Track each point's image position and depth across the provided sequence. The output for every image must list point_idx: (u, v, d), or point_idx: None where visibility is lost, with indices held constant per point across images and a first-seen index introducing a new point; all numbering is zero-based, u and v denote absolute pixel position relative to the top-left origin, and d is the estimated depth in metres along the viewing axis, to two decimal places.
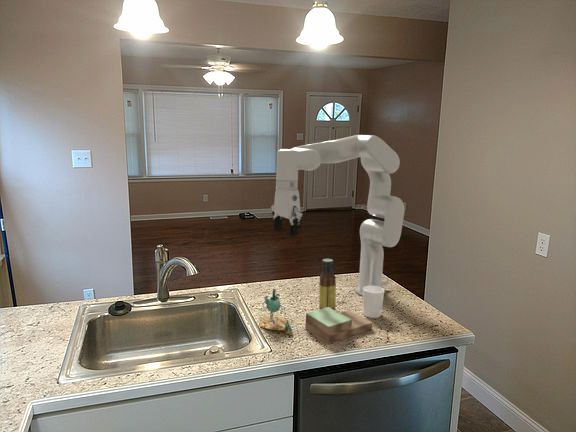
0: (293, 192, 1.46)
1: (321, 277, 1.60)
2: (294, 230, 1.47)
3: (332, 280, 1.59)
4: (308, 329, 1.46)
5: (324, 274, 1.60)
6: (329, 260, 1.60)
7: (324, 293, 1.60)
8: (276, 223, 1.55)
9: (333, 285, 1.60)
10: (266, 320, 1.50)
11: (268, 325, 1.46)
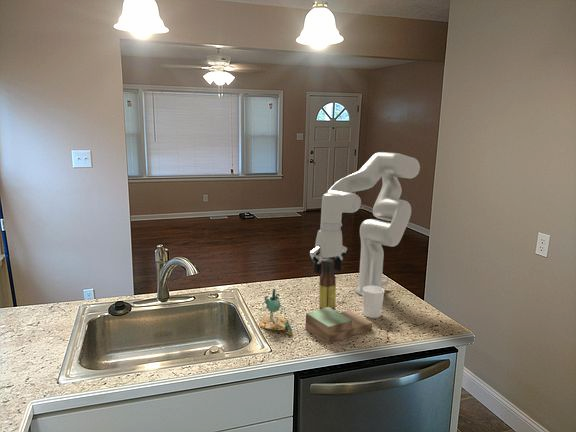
0: None
1: (321, 277, 1.60)
2: None
3: (332, 280, 1.59)
4: (308, 329, 1.46)
5: (324, 274, 1.60)
6: (329, 260, 1.60)
7: (324, 293, 1.60)
8: None
9: (333, 285, 1.60)
10: (266, 320, 1.50)
11: (268, 325, 1.47)
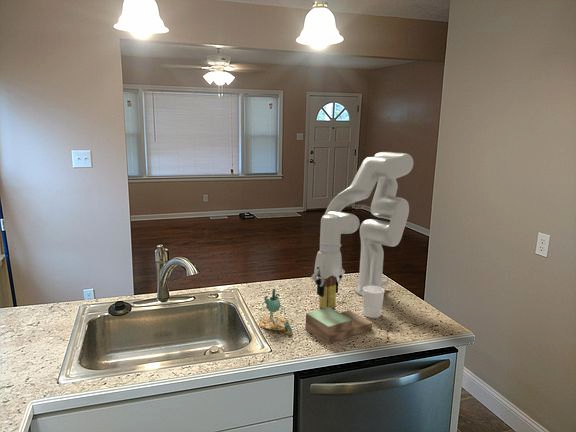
0: None
1: None
2: None
3: (332, 280, 1.59)
4: (308, 329, 1.46)
5: None
6: None
7: (324, 293, 1.60)
8: None
9: (333, 285, 1.60)
10: (266, 320, 1.51)
11: (268, 325, 1.47)
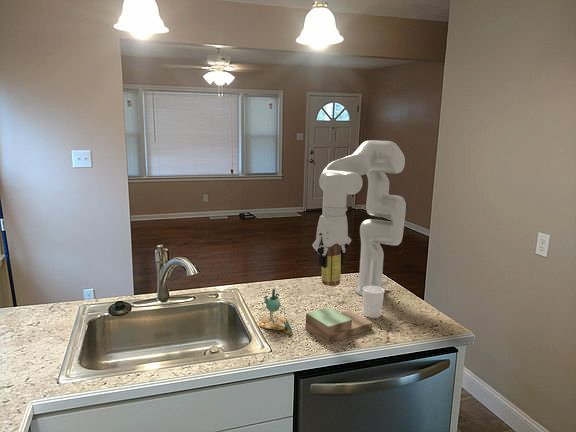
0: None
1: None
2: None
3: (337, 248, 1.38)
4: (308, 329, 1.46)
5: None
6: None
7: (327, 263, 1.38)
8: None
9: (338, 254, 1.38)
10: (266, 320, 1.51)
11: (268, 325, 1.47)
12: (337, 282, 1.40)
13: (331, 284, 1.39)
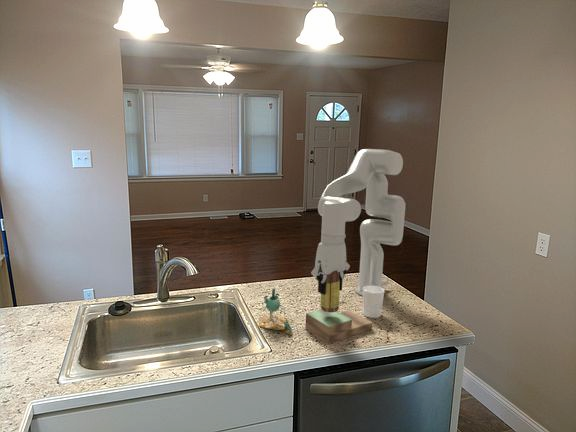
0: None
1: None
2: None
3: (335, 275, 1.39)
4: (308, 329, 1.46)
5: None
6: None
7: (326, 290, 1.39)
8: None
9: (336, 281, 1.39)
10: (265, 319, 1.51)
11: (268, 324, 1.47)
12: (336, 308, 1.41)
13: (330, 311, 1.40)
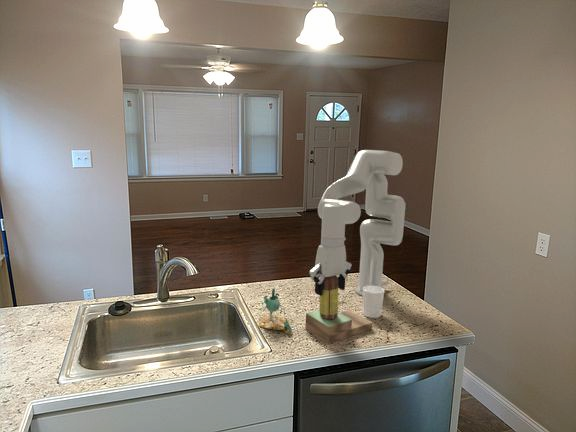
0: None
1: None
2: None
3: (334, 282, 1.39)
4: (308, 329, 1.46)
5: None
6: None
7: (325, 297, 1.40)
8: None
9: (335, 288, 1.40)
10: (265, 319, 1.51)
11: (267, 324, 1.47)
12: (335, 315, 1.42)
13: (329, 318, 1.41)
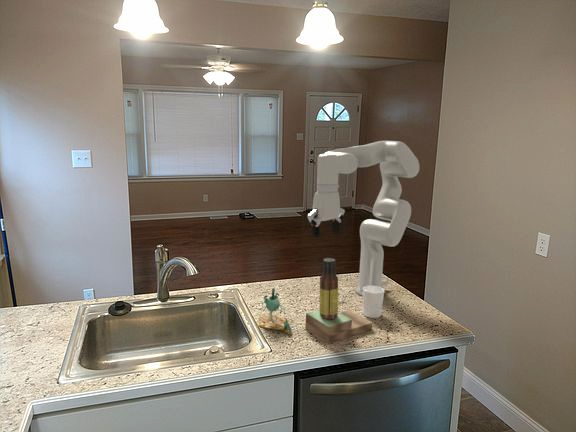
0: None
1: (322, 279, 1.40)
2: None
3: (334, 282, 1.39)
4: (308, 329, 1.46)
5: (325, 276, 1.40)
6: (331, 260, 1.40)
7: (325, 297, 1.40)
8: None
9: (335, 288, 1.40)
10: (265, 319, 1.51)
11: (267, 324, 1.47)
12: (335, 315, 1.42)
13: (329, 318, 1.41)
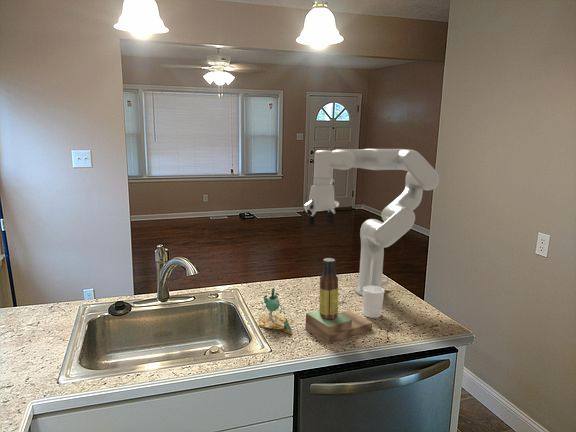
0: None
1: (322, 279, 1.40)
2: None
3: (334, 282, 1.39)
4: (308, 329, 1.46)
5: (325, 276, 1.40)
6: (331, 260, 1.40)
7: (325, 297, 1.40)
8: None
9: (335, 288, 1.40)
10: (265, 319, 1.51)
11: (267, 324, 1.47)
12: (335, 315, 1.42)
13: (329, 318, 1.41)
